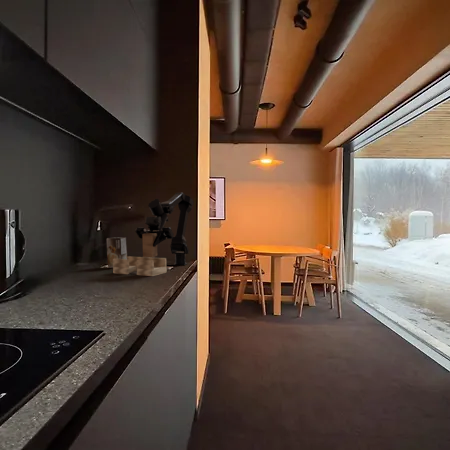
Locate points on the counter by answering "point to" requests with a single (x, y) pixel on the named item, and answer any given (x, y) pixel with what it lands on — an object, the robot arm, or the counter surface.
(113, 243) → the coffee box
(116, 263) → the tunnel deck
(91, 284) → the counter surface
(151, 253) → the walnut block
